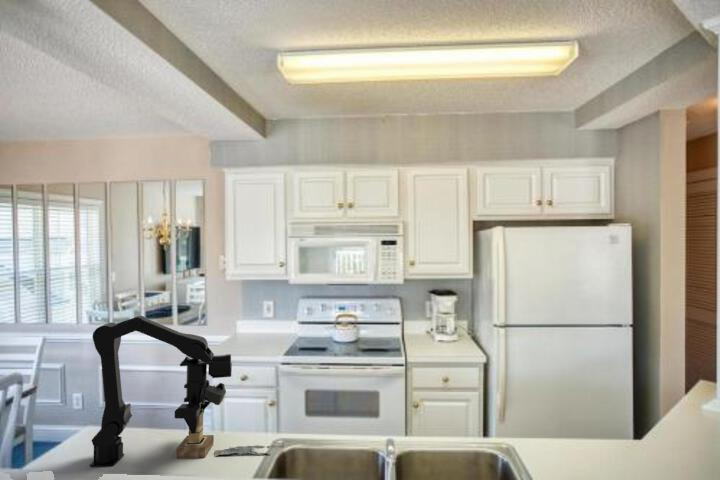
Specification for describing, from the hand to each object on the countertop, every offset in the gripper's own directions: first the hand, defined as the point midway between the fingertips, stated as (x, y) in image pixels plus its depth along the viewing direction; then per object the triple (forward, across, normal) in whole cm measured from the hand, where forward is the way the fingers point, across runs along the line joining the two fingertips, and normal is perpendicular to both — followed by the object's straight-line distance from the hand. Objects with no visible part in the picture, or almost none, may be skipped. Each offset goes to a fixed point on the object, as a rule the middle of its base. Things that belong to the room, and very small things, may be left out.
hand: (195, 430), depth 126 cm
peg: (+3, 0, 0) cm, 3 cm away
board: (+6, 0, 0) cm, 6 cm away
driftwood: (+7, -1, -16) cm, 18 cm away
